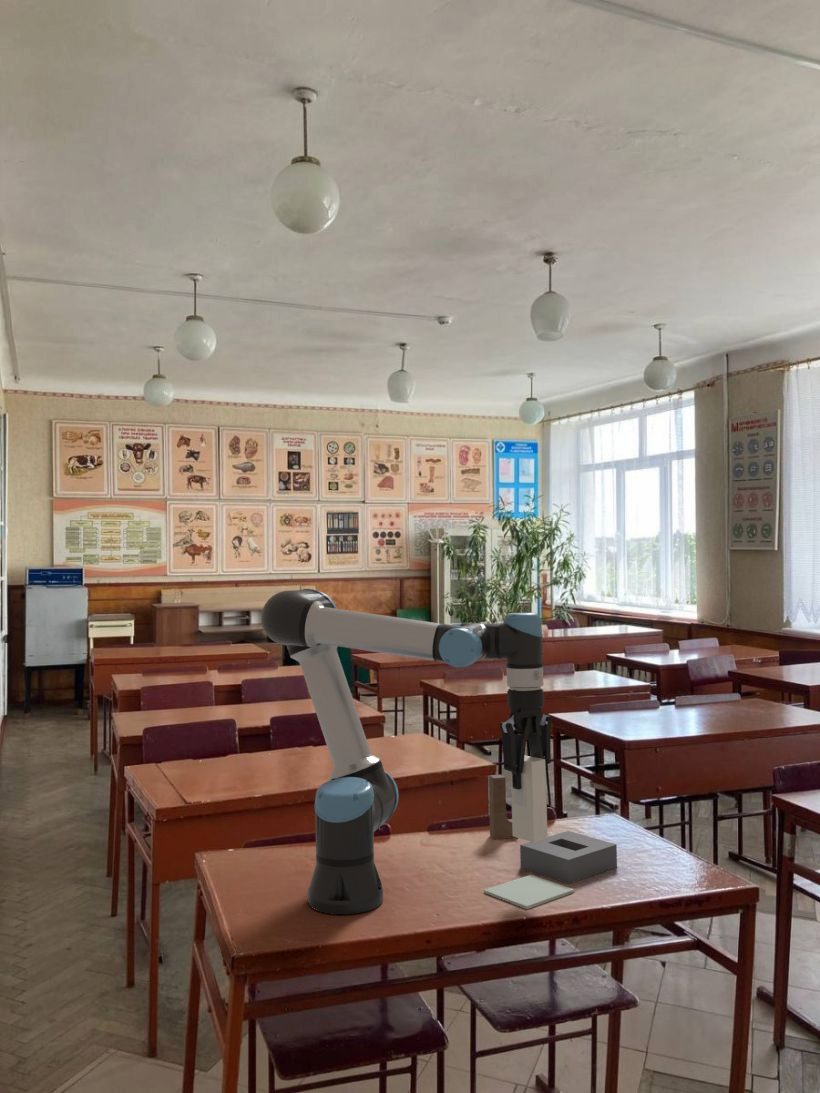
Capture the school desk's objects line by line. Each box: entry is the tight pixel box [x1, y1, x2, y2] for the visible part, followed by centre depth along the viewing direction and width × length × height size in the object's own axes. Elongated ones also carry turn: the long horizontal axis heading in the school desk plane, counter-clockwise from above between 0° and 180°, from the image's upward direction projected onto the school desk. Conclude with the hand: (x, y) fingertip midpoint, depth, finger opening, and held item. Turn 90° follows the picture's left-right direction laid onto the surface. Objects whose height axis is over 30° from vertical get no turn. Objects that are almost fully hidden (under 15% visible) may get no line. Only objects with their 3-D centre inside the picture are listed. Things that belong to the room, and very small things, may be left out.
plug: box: [510, 755, 549, 842], centre depth 184 cm, size 4×6×16 cm, turn 39°
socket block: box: [519, 830, 618, 885], centre depth 199 cm, size 16×14×5 cm
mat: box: [483, 874, 575, 910], centre depth 184 cm, size 14×12×1 cm
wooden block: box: [488, 774, 515, 840], centre depth 223 cm, size 7×3×15 cm, turn 106°
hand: (528, 802), depth 184 cm, fingers closed on plug, 4 cm apart
